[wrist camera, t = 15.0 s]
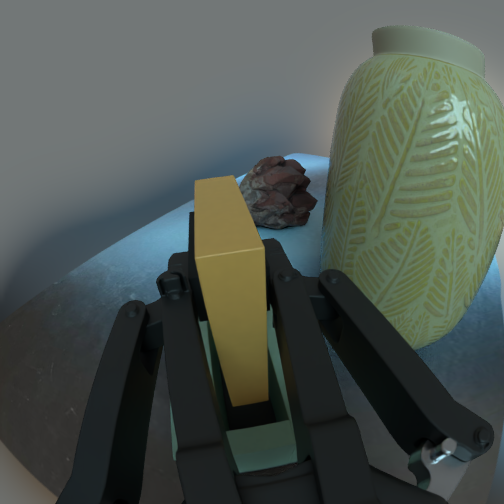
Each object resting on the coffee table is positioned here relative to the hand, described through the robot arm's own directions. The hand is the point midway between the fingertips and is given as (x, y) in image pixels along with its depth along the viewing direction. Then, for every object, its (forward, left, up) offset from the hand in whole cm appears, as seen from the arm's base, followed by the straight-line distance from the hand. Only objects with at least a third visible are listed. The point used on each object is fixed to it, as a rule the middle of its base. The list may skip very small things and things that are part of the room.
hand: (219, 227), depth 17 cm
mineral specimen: (+19, +15, -13) cm, 28 cm away
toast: (-3, -5, -6) cm, 8 cm away
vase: (+15, -8, -13) cm, 21 cm away
